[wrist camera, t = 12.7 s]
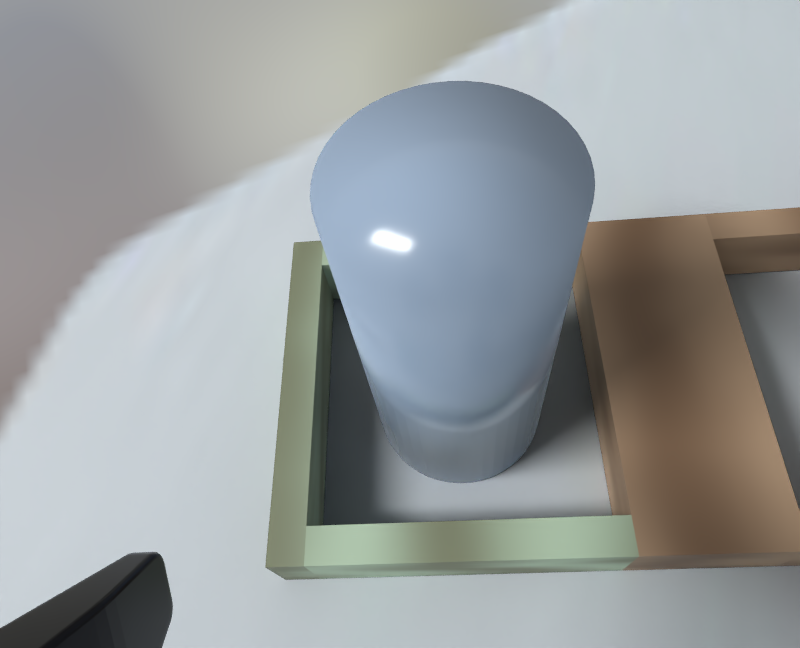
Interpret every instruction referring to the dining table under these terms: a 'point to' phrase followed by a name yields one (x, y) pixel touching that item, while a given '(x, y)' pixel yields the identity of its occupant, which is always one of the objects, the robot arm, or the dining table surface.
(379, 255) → the canister
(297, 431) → the caddy
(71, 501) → the dining table surface
